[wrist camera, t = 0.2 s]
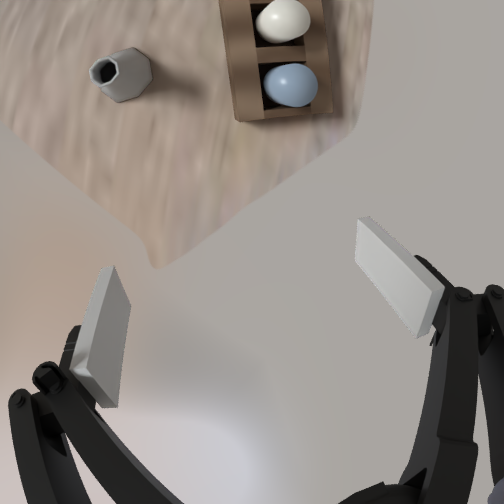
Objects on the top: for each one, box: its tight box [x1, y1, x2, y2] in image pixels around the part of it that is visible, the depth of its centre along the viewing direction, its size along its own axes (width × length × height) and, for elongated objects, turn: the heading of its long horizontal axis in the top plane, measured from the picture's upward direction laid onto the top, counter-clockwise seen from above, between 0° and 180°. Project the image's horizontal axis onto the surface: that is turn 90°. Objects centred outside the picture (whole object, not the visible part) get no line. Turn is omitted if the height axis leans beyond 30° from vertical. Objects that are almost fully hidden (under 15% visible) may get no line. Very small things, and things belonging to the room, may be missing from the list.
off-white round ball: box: [255, 0, 310, 44], centre depth 26 cm, size 5×5×5 cm
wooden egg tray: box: [219, 0, 333, 122], centre depth 29 cm, size 24×12×4 cm, turn 7°
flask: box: [89, 47, 153, 103], centre depth 27 cm, size 7×7×10 cm
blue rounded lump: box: [263, 64, 318, 107], centre depth 31 cm, size 5×5×5 cm
